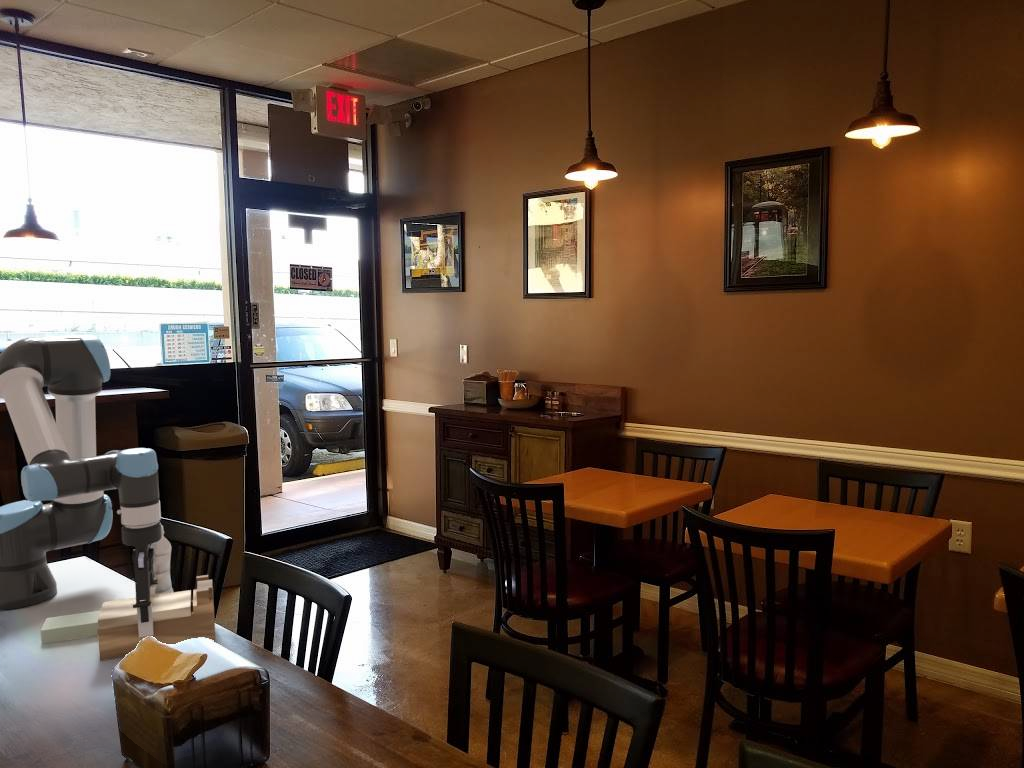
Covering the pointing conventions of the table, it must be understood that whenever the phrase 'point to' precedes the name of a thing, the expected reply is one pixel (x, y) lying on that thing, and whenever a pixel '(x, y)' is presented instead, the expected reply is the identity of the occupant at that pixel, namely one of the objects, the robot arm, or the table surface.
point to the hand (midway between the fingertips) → (147, 625)
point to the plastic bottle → (162, 565)
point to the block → (206, 586)
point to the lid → (162, 609)
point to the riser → (70, 627)
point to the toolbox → (163, 628)
